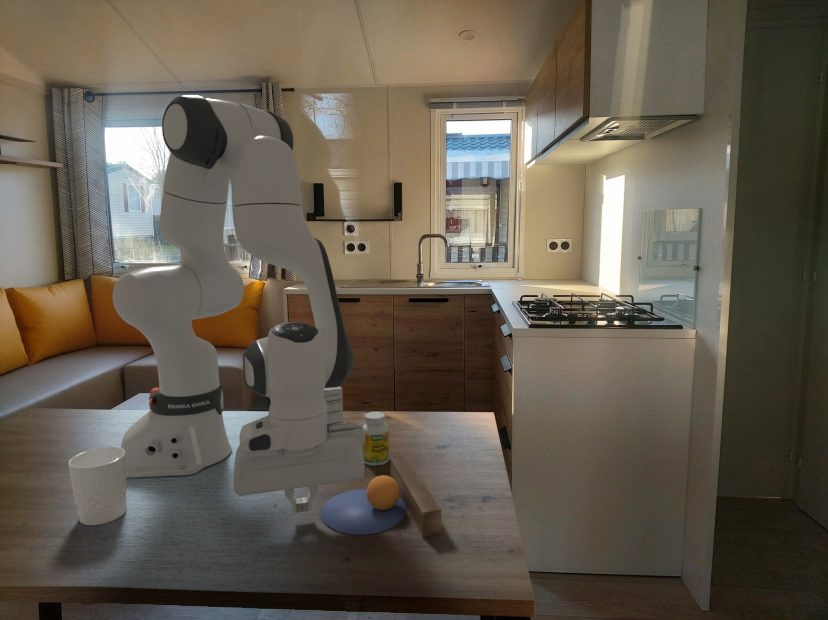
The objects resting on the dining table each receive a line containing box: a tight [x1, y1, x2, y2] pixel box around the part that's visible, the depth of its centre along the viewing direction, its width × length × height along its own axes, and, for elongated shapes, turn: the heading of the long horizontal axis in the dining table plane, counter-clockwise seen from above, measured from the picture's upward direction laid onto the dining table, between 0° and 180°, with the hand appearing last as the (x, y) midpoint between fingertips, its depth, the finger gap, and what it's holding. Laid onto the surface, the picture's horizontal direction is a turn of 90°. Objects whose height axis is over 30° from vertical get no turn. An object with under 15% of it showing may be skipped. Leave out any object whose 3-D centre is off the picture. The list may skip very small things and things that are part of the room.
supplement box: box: [324, 386, 344, 425], centre depth 116 cm, size 7×7×13 cm
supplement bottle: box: [361, 411, 390, 467], centre depth 106 cm, size 5×5×10 cm
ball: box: [366, 474, 400, 510], centre depth 89 cm, size 6×6×6 cm
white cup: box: [67, 446, 128, 526], centre depth 87 cm, size 8×8×10 cm
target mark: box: [320, 488, 407, 536], centre depth 88 cm, size 14×14×1 cm
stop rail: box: [389, 455, 442, 538], centre depth 90 cm, size 3×20×4 cm, turn 17°
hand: (301, 510), depth 85 cm, fingers closed
